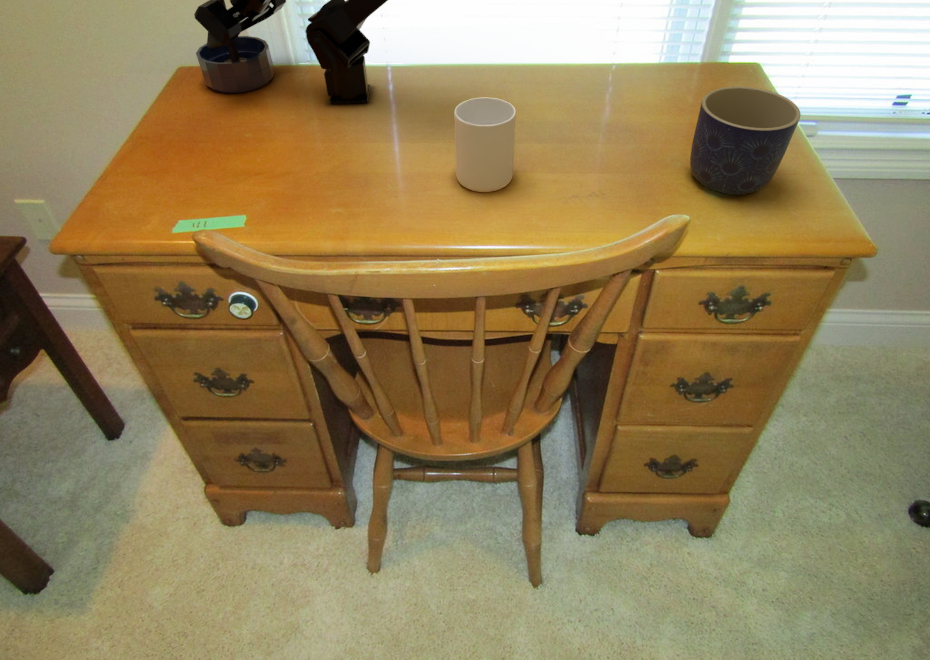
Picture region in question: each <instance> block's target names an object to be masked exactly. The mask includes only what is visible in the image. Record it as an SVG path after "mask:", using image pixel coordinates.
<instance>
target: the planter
mask: <svg viewBox="0 0 930 660" xmlns="http://www.w3.org/2000/svg"><path fill="white" fill-rule="evenodd" d="M800 119H801V110H800V108H799V107H798V106H797V104H795V102H793V101H792V100H791V99H789V98H787V97H786V96H784V95H782V94H779V93H777V92H774V91H772V90H768V89H763V88H758V87H752V86H740V85H739V86H737V85H735V86H726V87H720V88H717V89H713V90H711V91H709V92H708V93H706V94H705V95H704V96H703V98H702V99H701V103H700V108H699V112H698V116H697V121H696V125H695V130H694V133H693V138H692V144H691V148H690V155H689V157H690V158H689V165H690V170H691V173H692V176H693V177H694V178H695V179H696V180H697V182H699V183H700V184H701V185H702V186H704V187H706V188H707V189H710V190H711V191H712V190H713V191H715V192H718V193H722V194H727V195H748V194H752V193H756V192H757V191H760V190H762V189H763V188H764V187H766V186H767V185H768V184H769V183H770V182H771V180H772V179H773V178H774V176H775V174H776V172H777V170H778V168H779V167H780V165H781V163H782V161H783V160H784V159H783V158H784V156H785V154H786V152H787V150H788V147H789V145H790V143H791V140H792V138H793V136H794V134H795V131H796V129H797V126H798V124H799V121H800Z"/></svg>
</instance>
